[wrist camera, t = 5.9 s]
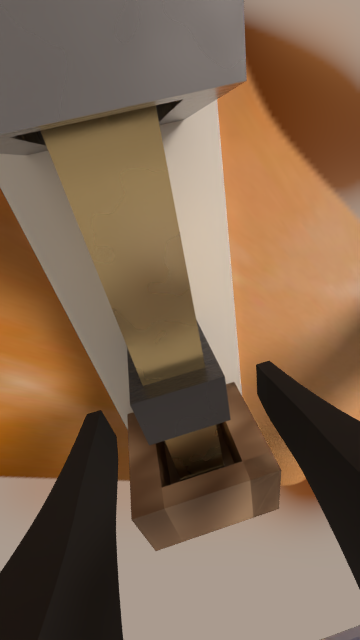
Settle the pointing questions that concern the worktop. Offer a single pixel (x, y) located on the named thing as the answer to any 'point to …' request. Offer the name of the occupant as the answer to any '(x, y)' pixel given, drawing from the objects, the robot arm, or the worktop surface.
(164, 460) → the socket
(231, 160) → the worktop surface
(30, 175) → the board
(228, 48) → the sleeve
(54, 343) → the worktop surface
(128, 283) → the plug
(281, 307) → the worktop surface
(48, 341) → the worktop surface
